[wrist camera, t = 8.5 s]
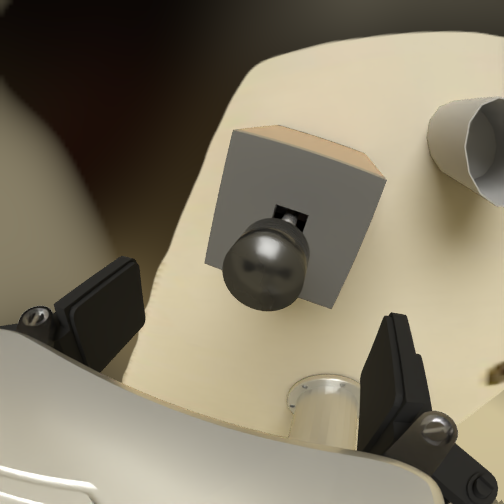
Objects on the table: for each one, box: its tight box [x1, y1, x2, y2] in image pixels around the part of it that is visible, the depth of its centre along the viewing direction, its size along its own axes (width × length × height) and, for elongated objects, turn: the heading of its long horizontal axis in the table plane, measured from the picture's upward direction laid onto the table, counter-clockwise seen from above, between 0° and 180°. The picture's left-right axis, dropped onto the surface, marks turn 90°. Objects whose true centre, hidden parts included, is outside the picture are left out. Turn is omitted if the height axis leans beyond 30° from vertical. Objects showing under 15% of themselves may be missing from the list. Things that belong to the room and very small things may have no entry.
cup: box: [427, 97, 504, 207], centre depth 19 cm, size 8×8×10 cm
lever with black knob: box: [222, 205, 310, 311], centre depth 20 cm, size 6×6×17 cm
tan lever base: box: [205, 125, 387, 309], centre depth 25 cm, size 12×9×14 cm
